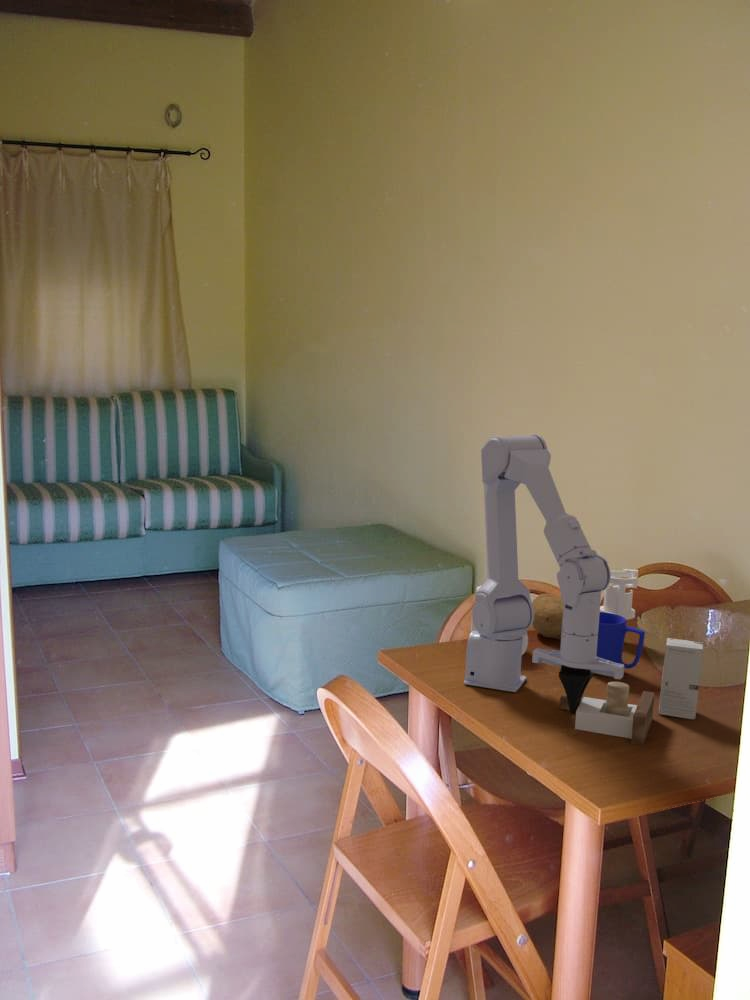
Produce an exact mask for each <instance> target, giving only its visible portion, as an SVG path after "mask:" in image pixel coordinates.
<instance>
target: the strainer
mask: <svg viewBox="0 0 750 1000" xmlns="http://www.w3.org/2000/svg"><path fill="white" fill-rule="evenodd" d="M638 582H639V570H638V569H629V568H625V569H624V568H623V569H622V570H610V582H609V585H608V587H607V588H606V589H605V590H604V593H603V594H604V596H603V605H600V612H606V613H612V614H617V615H620V616H622V617H624V618H625V619H626V621H627V620H633V619H634V618H636V610H635V609H634V608H633V607H632V606H633V595H634V594H633V593H634V590H633V589H638ZM611 584H612V585H611ZM629 588H630V589H629ZM631 588H632V589H631ZM626 589H629V592H626Z"/></svg>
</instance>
